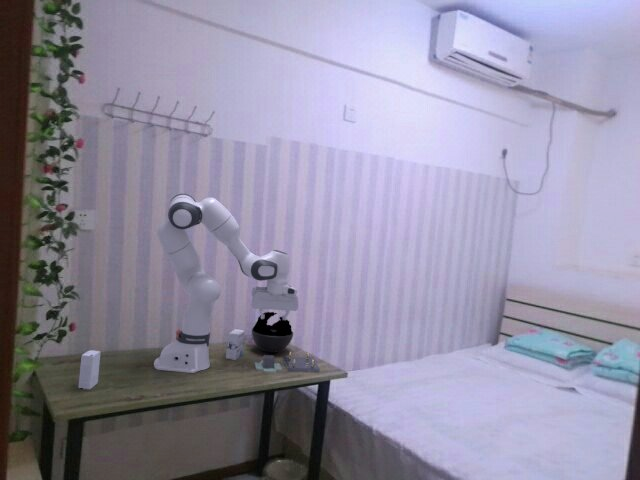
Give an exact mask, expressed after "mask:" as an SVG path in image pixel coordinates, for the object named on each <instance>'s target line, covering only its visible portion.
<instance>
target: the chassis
mask: <svg viewBox="0 0 640 480" xmlns="http://www.w3.org/2000/svg"><path fill="white" fill-rule="evenodd" d="M282 361H283V364H284V366H285V368H286V370H287V372H303V373H304V372H307V373H320V371H321V368H320V367H319V366H318V363H316V361H315V359H314V358H313V357H310V352H307V353H306V356H304V357H303V356H292V351H289V352H288V356H282Z"/></svg>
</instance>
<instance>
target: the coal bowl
mask: <svg viewBox="0 0 640 480" xmlns="http://www.w3.org/2000/svg"><path fill="white" fill-rule="evenodd" d="M263 314H264V315H265V317H264V319H261V314H260V315H259V316H258V317H257V321H256V322H255V324H254V326H253V327H252V328H251V337H252V340H253V342H254V344H255V345H256V346H257V347H258V348H259V349H260V350H262V351H264V352H267V353H277V352H280V351H282V350H284V349H286V348H287V347H288V346H289V345H290V343H291V341H292V340H293V336H294V332H293V330H292V325H291V322H290V320H288V319H286V320H282V318H283V317H282V316H279V320H277V321H276V322H274V323H273V324H272V325H271V324H268V320H270V319H271V318H272V317H274V316H275V315H277V314H278V313H277V312H274V311H267V312H264V313H263Z"/></svg>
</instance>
